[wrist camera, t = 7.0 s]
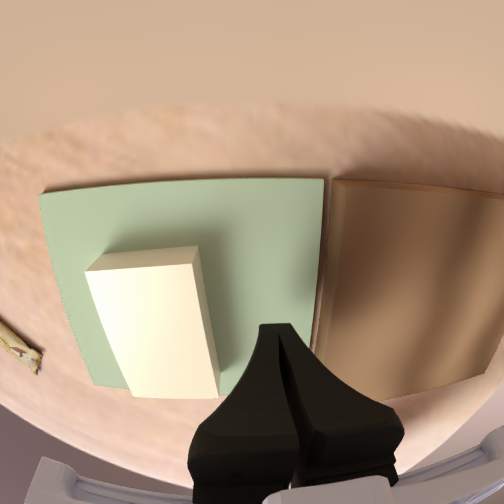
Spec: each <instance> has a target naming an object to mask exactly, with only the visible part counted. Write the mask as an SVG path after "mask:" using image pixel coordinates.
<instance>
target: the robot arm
mask: <svg viewBox="0 0 504 504" xmlns="http://www.w3.org/2000/svg"><path fill="white" fill-rule="evenodd" d="M404 434H405V433H404V428H403V425H402V423H401V421H400V419H399V417H398V416H397V414H396V413H395V411H394V409H393V408H390V407H388V406H386V405H383V404H381V403H379V402H376V401H374V400H372V399H370V398H368V397H367V396H365V395H363V394H361V393H359V392H358V391H356V390H355V389H353V388H352V387H350V386H349V385H347V384H346V383H344V382H343V381H342V380H340V379H339V378H338V377H337V376H335V375H334V374H333V373H332V372H331V371H330V370H329V369H328V368H326V367H325V366H324V365H323V364H322V362H321V361H320V360H319V359H318V358H317V357H316V356H315V355H314V354H313V353H312V351H311V350H310V349H309V348H308V347H307V345H306V344H305V343H304V342H303V340H302V339H301V337H300V336H299V335H298V333H297V332H296V330H295V329H294V327H293V326H292V324H291V323H269V324H260V325H259V332H258V338H257V341H256V345H255V348H254V350H253V353H252V356H251V358H250V360H249V362H248V365H247V367H246V369H245V371H244V372H243V374H242V376H241V378H240V379H239V381H238V382H237V384H236V385H235V387H234V388H233V390H232V391H231V393H230V394H229V395H228V396H227V398H226V399H225V400H224V401H223V402H222V403H221V405H220V406H219V407H218V408H217V409H216V410H215V411H214V412H213V413H212V414H211V415H210V416H209V417H208V418H207V419H205V420H204V421H203V422H202V423H201V424H200V425H199V426H198V428H197V430H196V432H195V435H194V437H193V439H192V442H191V445H190V448H189V453H188V462H187V465H188V469H189V472H190V474H191V477H192V479H193V482H194V486H193V497H192V496H181V495H172V494H164V493H155V492H150V491H143V490H138V489H132V488H127V487H122V486H117V485H113V484H108V483H104V482H100V481H96V480H92V479H89V478H85V477H82V476H78V475H77V473H76V472H75V471H74V470H73V469H72V468H71V467H70V466H68V465H66V464H63V463H61V462H58V461H54V460H52V459H49V458H46V457H42V458H41V460H40V463H39V465H38V468H37V470H36V472H35V475H34V477H33V480H32V483H31V485H30V488H29V490H28V493H27V496H26V499H25V501H24V504H476V503H477V502H479V501H481V500H482V499H484V498H486V497H487V496H489V495H491V494H492V493H494V492H496V491H497V490H499V489H500V488H501V487H502V486H503V485H504V425H503V426H501V427H499V428H497V429H495V430H494V431H492V432H490V433H489V434H488V435H487V436H486V437H485V438H484V439H483V440H482V442H481V444H479V445H477V446H475V447H473V448H471V449H468V450H466V451H464V452H462V453H459V454H457V455H455V456H452V457H450V458H447V459H445V460H442V461H440V462H437V463H434V464H432V465H429V466H426V467H423V468H420V469H417V470H414V471H411V472H408V473H405V474H401V475H397V472H396V469H395V467H394V464H395V462H396V459H395V456H394V451H395V450H396V448H397V447H398V445H399V444H400V442H401V441H402V439H403V436H404Z"/></svg>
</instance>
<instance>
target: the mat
mask: <svg viewBox="0 0 504 504" xmlns="http://www.w3.org/2000/svg"><path fill="white" fill-rule="evenodd" d="M323 190H324V179H322V178H278V177H263V178H211V179H187V180H169V181H153V182H139V183H127V184H116V185H106V186H96V187H87V188H78V189H70V190H62V191H54V192H47V193H42V194H39V195H38V197H39V204H40V210H41V216H42V221H43V226H44V231H45V236H46V241H47V246H48V250H49V254H50V258H51V262H52V266H53V270H54V274H55V278H56V281H57V285H58V288H59V292H60V295H61V298H62V302H63V305H64V308H65V311H66V314H67V317H68V320H69V323H70V326H71V328H72V331H73V334H74V337H75V339H76V342H77V345H78V347H79V350H80V352H81V355H82V357H83V360H84V362H85V364H86V367H87V369H88V371H89V374H90V376H91V378H92V380H93V383H94V385H98V386H104V387H112V388H120V389H128V390H130V388H129V386H128V384H127V382H126V380H125V378H124V376H123V373H122V371H121V369H120V367H119V364H118V362H117V360H116V357H115V355H114V353H113V350H112V348H111V345H110V343H109V340H108V338H107V335H106V333H105V330H104V328H103V325H102V322H101V319H100V317H99V314H98V311H97V308H96V305H95V303H94V300H93V297H92V294H91V290H90V287H89V284H88V281H87V278H86V274H85V271H86V270H87V269H88V268H89V267H90V266H91V265H92V264H93V262H94V261H95V260H96V259H97V258H98V257H99V256H100V255H101V254H108V253H118V252H129V251H140V250H151V249H162V248H173V247H184V246H196V245H198V246H199V252H200V259H201V265H202V272H203V278H204V284H205V290H206V296H207V302H208V308H209V314H210V319H211V325H212V330H213V336H214V341H215V346H216V351H217V357H218V362H219V367H220V372H221V377H220V392H219V395H229V394H230V393H231V391H232V390H233V388H234V387H235V385H236V384H237V382H238V381H239V379H240V378H241V376H242V374H243V372H244V371H245V369H246V367H247V365H248V362H249V360H250V358H251V356H252V353H253V350H254V348H255V345H256V341H257V338H258V332H259V325H260V324H269V323H291V324H292V326H293V327H294V329H295V330H296V332H297V333H298V335H299V336H300V337H301V339H302V340H303V342H304V343H305V344H306V345H307V347H308V348H309V345H310V338H311V330H312V321H313V313H314V304H315V294H316V285H317V274H318V263H319V251H320V238H321V224H322V208H323Z"/></svg>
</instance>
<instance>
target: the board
mask: <svg viewBox="0 0 504 504" xmlns="http://www.w3.org/2000/svg"><path fill="white" fill-rule="evenodd" d="M503 334H504V195H502V194H495V193H489V192H482V191H474V190H467V189H459V188H450V187H441V186H431V185H421V184H410V183H398V182H384V181H368V180H349V179H332V187H331V204H330V219H329V232H328V244H327V256H326V266H325V276H324V285H323V294H322V302H321V311H320V318H319V326H318V333H317V340H316V347H315V354H314V355H315V356H316V357H317V358H318V359H319V360H320V361H321V362H322V364H323V365H324V366H325V367H326V368H328V369H329V370H330V371H331V372H332V373H333V374H334V375H335V376H337V377H338V378H339V379H340V380H342V381H343V382H344V383H346V384H347V385H349V386H350V387H352V388H353V389H355V390H356V391H358V392H359V393H361V394H363V395H365V396H367V397H368V398H370V399H372V400H374V401H381V400H387V399H392V398H396V397H401V396H406V395H410V394H414V393H419V392H423V391H427V390H430V389H434V388H438V387H442V386H445V385H449V384H452V383H455V382H459V381H462V380H465V379H468V378H471V377H474V376H477V375H480V374H483V373H485V371H486V369H487V367H488V365H489V363H490V361H491V359H492V357H493V355H494V353H495V351H496V349H497V347H498V345H499V343H500V341H501V338H502V336H503Z"/></svg>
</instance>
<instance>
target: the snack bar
mask: <svg viewBox="0 0 504 504" xmlns="http://www.w3.org/2000/svg"><path fill="white" fill-rule="evenodd" d="M0 346H1V347H3V348H4V349H5V350H6V351H7V352H9V353H10V354H11V355H13V356H14V357H15V358H17V359H18V360H19V361H21V362H22V363H24V364H25V365H26V366H28V367H29V368H30V370H31V371H32V372H33V373H34V374H36V375H38V370H37V367H38V366H40V365H39V363H40V361H41V359H42V356H43V355H42V354H41V353H40V352H38V351H36V350H34V349H33V348H31V347H29V346H28V345H27V344H26V343H25V342H24V341H23V340H22V339H21V338H20V337H18V336H17V335H16V334H15V333H14V332H13V331H12V330H11V329H10V328H8V327H7V326H6V325H5V324H4V323H2V322H1V321H0ZM38 368H40V367H38ZM36 371H37V372H36Z"/></svg>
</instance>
